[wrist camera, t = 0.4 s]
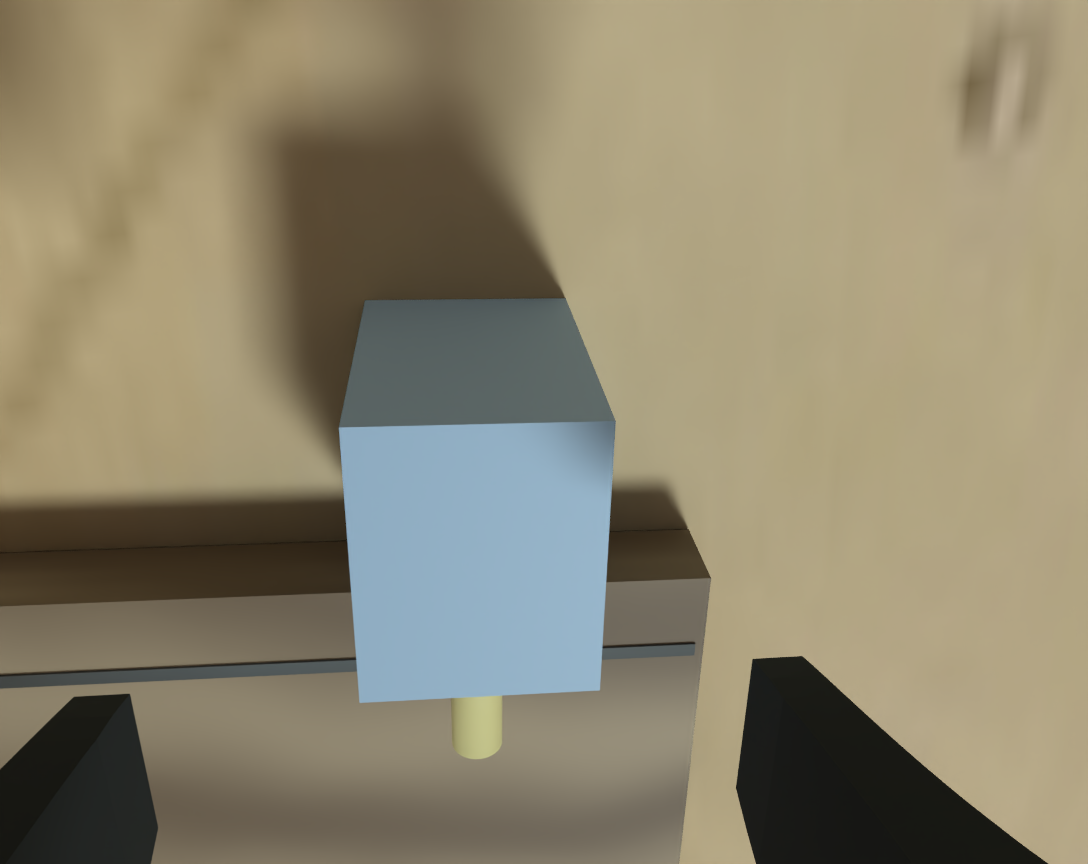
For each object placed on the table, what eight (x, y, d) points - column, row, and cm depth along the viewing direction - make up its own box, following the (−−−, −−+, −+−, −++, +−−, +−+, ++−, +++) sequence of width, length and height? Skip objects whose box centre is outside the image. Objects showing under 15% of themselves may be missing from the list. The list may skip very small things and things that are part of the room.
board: (652, 897, 27) (668, 965, 25) (-528, 984, 24) (-608, 1067, 22) (688, 529, 22) (711, 579, 20) (-799, 580, 19) (-932, 645, 17)
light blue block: (554, 622, 23) (592, 820, 18) (384, 630, 23) (369, 835, 17) (565, 298, 20) (615, 421, 14) (365, 299, 19) (338, 427, 14)
